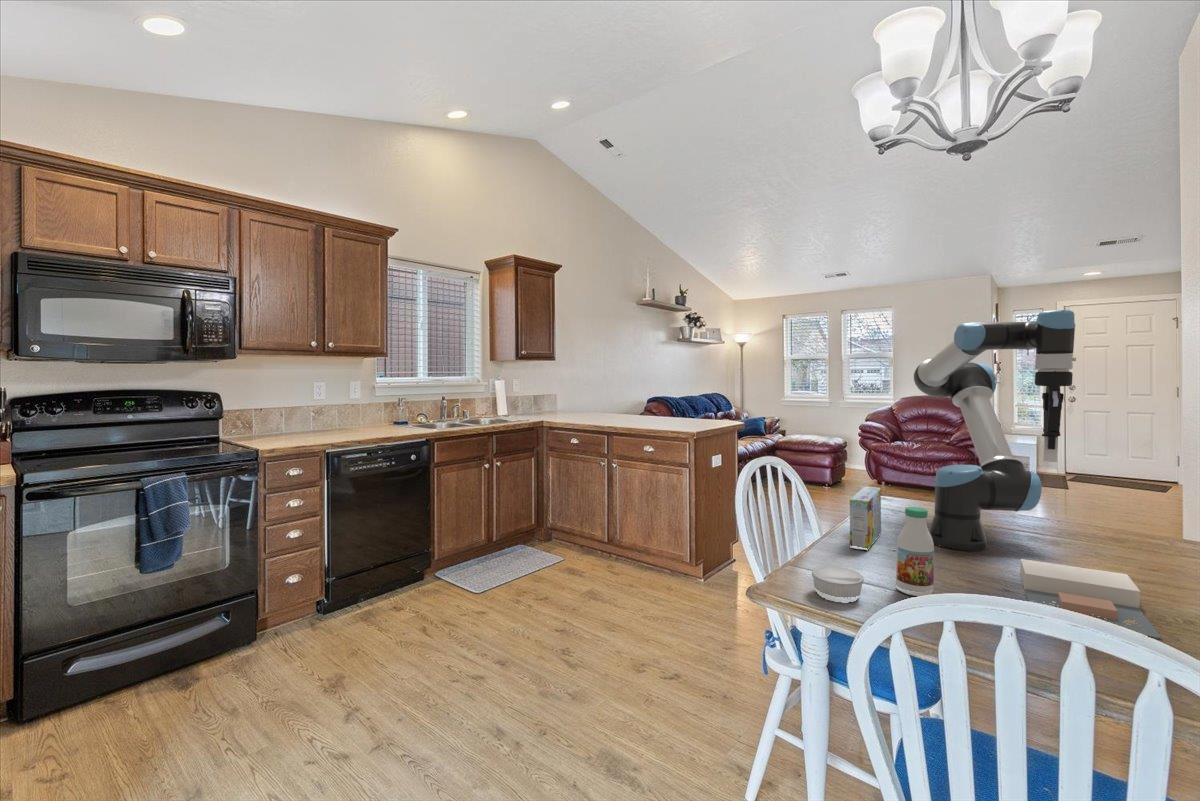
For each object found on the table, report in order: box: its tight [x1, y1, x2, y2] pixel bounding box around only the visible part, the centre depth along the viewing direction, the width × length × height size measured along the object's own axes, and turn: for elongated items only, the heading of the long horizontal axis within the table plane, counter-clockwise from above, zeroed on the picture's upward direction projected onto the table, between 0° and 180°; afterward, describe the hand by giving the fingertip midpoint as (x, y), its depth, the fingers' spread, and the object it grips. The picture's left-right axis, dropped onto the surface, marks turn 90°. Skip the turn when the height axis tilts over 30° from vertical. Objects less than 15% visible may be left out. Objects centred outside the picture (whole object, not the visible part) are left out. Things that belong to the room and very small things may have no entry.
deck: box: [1019, 558, 1141, 609], centre depth 132 cm, size 20×12×4 cm, turn 57°
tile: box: [1057, 592, 1118, 620], centre depth 120 cm, size 9×6×2 cm, turn 57°
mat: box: [1024, 589, 1162, 640], centre depth 120 cm, size 20×16×1 cm
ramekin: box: [811, 565, 865, 598], centre depth 130 cm, size 11×11×5 cm
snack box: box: [849, 485, 882, 549], centre depth 170 cm, size 21×6×15 cm, turn 144°
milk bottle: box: [895, 506, 935, 592], centre depth 131 cm, size 8×8×20 cm
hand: (1050, 461), depth 145 cm, fingers closed
